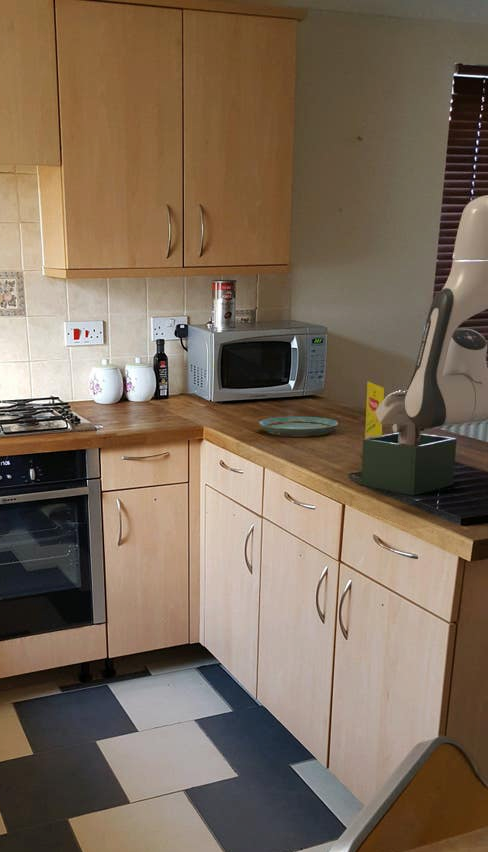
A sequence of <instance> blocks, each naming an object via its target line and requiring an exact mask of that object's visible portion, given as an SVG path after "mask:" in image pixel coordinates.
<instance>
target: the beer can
mask: <svg viewBox="0 0 488 852" xmlns="http://www.w3.org/2000/svg"><path fill="white" fill-rule="evenodd" d="M402 426H403V430H402V431H401V432H399V433H398V444H403V445H410V446H420V434H422V431H421V428H420V427H418V426H417V425H415V424H414V423H403V424H402Z"/></svg>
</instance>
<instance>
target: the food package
mask: <svg viewBox="0 0 488 852" xmlns="http://www.w3.org/2000/svg"><path fill="white" fill-rule="evenodd" d="M384 399H385V388H384V387H383V386H380V385H378V384H375V383H373V382H370V381H367V384H366V409H365V428H364V429H365V431H364V439H368V438H373V437H378V436H383V425H381V424H380V422H379V421H378V419H377V416H376V409H377V408H378V406H379V405H380V404H381V402H382V401H383V400H384Z"/></svg>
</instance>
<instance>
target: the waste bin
mask: <svg viewBox="0 0 488 852" xmlns="http://www.w3.org/2000/svg"><path fill="white" fill-rule="evenodd" d="M457 440H458V438H456V437H450V436H449V437H448V436H443V435H435V434H426V433H420V446H410V445H403V444H398V433H394V432H393V433H389V434H384V435H383V434H382V436H378V437H373V438H368V439H365V438H364V439H362V454H361V455H362V457H361V477H360V478H361V480H360V482H361V483H360V485H361V486H364V487H368V488H375V489H378V490H383V491H388V492H389V491H390V492H395V493H400V494H405V495H410V496H417V495H420V494H424V493H427V492H431V491H435V490H438V489H439V490H440V489H443V488H447V487H450V486H453V485H454V482H455V481H454V480H455V467H456V453H457V442H458V441H457Z"/></svg>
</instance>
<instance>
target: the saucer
mask: <svg viewBox="0 0 488 852" xmlns="http://www.w3.org/2000/svg"><path fill="white" fill-rule="evenodd" d="M290 421H291V422H292V421H301V422H302V421H303V422H316V423H317V422H318V423H323V424H327V425H330V426H327V425H322V424H311V423H290V424H278V425H272V426H266V425H268V424H272V423H277V422H290ZM338 423H339V422H338V421H336V420H334V419H330V418H325V417H315V416H281V417H271V418H266V419H262V420H260V421H259V425H260V427H261V428H262V430H263V431H264V432H266V433H267V434H268V435H272V436H277V437H283V438H284V437H285V438H310V437H319V436H320V437H321V436H325V435H328V434H330V433H331V432H333V431H334V430H335V429H336V427H337V426H338ZM267 431H268V432H267ZM271 432H273V433H271ZM278 433H280V434H278Z"/></svg>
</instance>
